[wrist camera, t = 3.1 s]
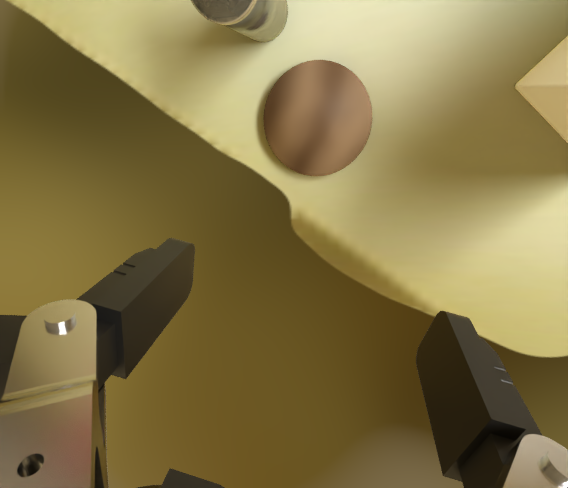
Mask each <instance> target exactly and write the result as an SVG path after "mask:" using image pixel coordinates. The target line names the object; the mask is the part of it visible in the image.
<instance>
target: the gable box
mask: <svg viewBox="0 0 568 488" xmlns="http://www.w3.org/2000/svg"><path fill="white" fill-rule="evenodd" d="M515 88H516V89H517V90H518V91H519V93H520V94H521V95H522V96H523V97H524V98H525V99H526V100H527V101H528V102H529V103H530V104H531V105H532V106H533V107H534V108H535V109H536V110H537V111H538V112H539V114H540V115H541V116H542V117H543V118H544V119H545V120H546V121H547V122H548V123H549V124H550V125H551V126H552V127H553V128H554V129H555V130H556V131H557V132H558V133H559V134H560V136H561V137H562V138H563V139H564V140H565V141H566V142H567V143H568V36H567V37H566V38H565V39H564V40H562V41H561V42H560V43H559V44H558V45H557V46H556V47H555V48H554V49H553V50H552V51H551V52H550V53H549V54H547V55H546V56H545V57H544V58H543V59H542V60H541V61H540V62H539V63H538V64H537V65H536V66H535V67H533V68H532V69H531V70H530V71H529V72H528V73H527V74H526V75H525V76H524V77H523V78H522V79H521V80H520V81H518V82H517V83H516V85H515Z"/></svg>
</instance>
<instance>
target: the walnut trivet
mask: <svg viewBox="0 0 568 488" xmlns="http://www.w3.org/2000/svg"><path fill="white" fill-rule="evenodd" d="M371 124H372V108H371V102H370V99H369V96H368V93H367V91H366V89H365V87H364V85H363V84H362V82H361V81H360V80H359V78H358V77H357V76H356V75H355V74H354V73H353V72H352V71H350V70H349V69H347V68H346V67H344V66H342V65H340V64H338V63H335V62H332V61H326V60H313V61H307V62H304V63H301V64H299V65H297V66H295V67H293V68H291V69H290V70H288V71H287V72H286V73H285V74H283V75H282V76H281V77H280V78H279V80H278V81H277V82H276V83H275V85H274V86H273V88H272V90H271V92H270V94H269V96H268V99H267V101H266V105H265V110H264V129H265V134H266V138H267V141H268V143H269V146H270V147H271V149H272V151H273V153H274V154H275V155H276V157H277V158H278V159H279V160H280V161H281V162H282V163H283V164H284V165H286V166H287V167H289V168H290V169H292V170H294V171H296V172H298V173H301V174H304V175H310V176H323V175H328V174H332V173H335V172H337V171H339V170H341V169H343V168H345V167H346V166H347V165H349V164H350V163H351V162H352V161H353V160H354V159H355V158H356V157H357V156H358V155H359V154H360V152H361V151H362V149H363V148H364V146H365V144H366V142H367V140H368V137H369V134H370V130H371Z"/></svg>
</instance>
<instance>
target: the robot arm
mask: <svg viewBox="0 0 568 488" xmlns="http://www.w3.org/2000/svg"><path fill="white" fill-rule="evenodd" d="M194 254H195V247H194V244H192V243H188V242H185V241H181V240H177V239H174V238H169V239H167V240H166V241H165V242H164V243H163V244H162V245H160V246H159V247H158V248H157V249H153V248H149V249H146V250H144V251H141V252H138V253H136V254H134V255H133V256H131V257H130V258H129V259H128V260H126V261H125V262H124V263H123V265H120V266H119V267H117V268H116V269H115V270H114V272H111V273H110V274H109V275H107V276H106V277H105V278H103V279H102V280H101V281H99V282H98V283H97V284H96V285H94V286H93V287H92V288H91V289H89V290H88V291H87V292H85V293H84V294H83V295H82V296H80V297H79V298H78V299H76V300H62V301H56V302H52V303H49V304H46V305H44V306H41V307H39V308H38V309H36V310H34V311H33V312H32V313H30V314H29V315H28V316H17V315H16V316H15V315H0V488H109V486H108V472H107V447H106V390H105V381H106V380H107V379H108V378H109V376H110V375H114V376H117V377H121V378H124V379H126V378H127V377H128V376H129V374H130V373H131V372H132V370H133V369H134V368H135V366H136V365H137V364H138V362H139V361H140V360H141V359H142V357H143V356H144V355H145V353H146V352H147V351H148V349H149V348H150V347H151V346H152V344H153V343H154V342H155V340H156V339H157V338H158V336H159V335H160V334H161V332H162V331H163V329H164V328H165V327H166V326H167V325H168V323H169V322H170V321H171V319H172V318H173V317H174V315H175V314H176V313H177V311H178V310H179V309H180V308H181V306H182V305H183V304H184V302H185V301H186V299H187V298H188V296H189V293H190V291H191V287H192V282H193V267H194ZM416 364H417V369H418V374H419V378H420V382H421V386H422V390H423V394H424V398H425V403H426V407H427V411H428V415H429V419H430V424H431V428H432V432H433V436H434V440H435V444H436V449H437V452H438V457H439V461H440V465H441V469H442V473H443V476H445V477H449V478H452V479H455V480H458V481H461V482H463V486H464V488H568V450H567V449H566V448H564V447H563V446H561V445H560V444H558V443H557V442H555V441H553V440H551V439H549V438H547V437H544V436H542V434H541V433H540V430H539V429H538V427H537V425H536V423H535V421H534V419H533V418H532V416H531V414H530V412H529V410H528V409H527V407H526V405H525V403H524V401H523V399H522V398H521V396H520V394H519V392H518V390H517V389H516V387H515V386H514V385H513V381H512V379H511V378H510V376H509V374H508V372H505V370H506V369H505V367H504V365H503V363H502V362H501V360H500V358H499V356H498V354H497V353H496V352H495V351H494V350H493V349H492V348H491V347H490V346H489V344H488V343H486V341H485V340H484V339H482V338H479V336H478V334H477V332H476V330H475V328H474V326H473V324H472V322H471V321H470V319H469V318H467V317H464V316H460V315H456V314H453V313H449V312H445V311H440V312H439V313H438V314H437V315H436V317H435V318H434V320H433V322H432V324H431V326H430V327H429V329H428V331H427V333H426V334H425V336H424V338H423V340H422V342H421V343H420V345H419V347H418V351H417V356H416ZM138 488H224V487H222V486H221V485H219V484H216V483H213V482H210V481H207V480H204V479H201V478H198V477H195V476H191V475H189V474H186V473H182V472H179V471H176V470H173V469H169V471H168V473H167V475H166V477H165V480H164V482H163V484H162V485H150V486H143V487H138Z"/></svg>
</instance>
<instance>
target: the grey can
mask: <svg viewBox="0 0 568 488" xmlns="http://www.w3.org/2000/svg"><path fill="white" fill-rule="evenodd" d="M191 1H192V3H193V5H194V6H195V8H196V9H197V10H198V11H199V13H200V14H202V15H203V16H204V17H205V18H207V19H208V20H210V21H212V22H214V23H217V24H220V25H224V26H226V27H228V28H230V29H233V30H235V31H237V32H239V33H241V34H243V35H245V36H247V37H249V38H251V39H253V40H255V41H258V42H268V41H271V40H273V39H275V38H276V37H277V36H278V35H279V34H280V33H281V32H282V30H283V29H284V26H285V24H286V21H287V15H288V7H287V1H286V0H191Z"/></svg>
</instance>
